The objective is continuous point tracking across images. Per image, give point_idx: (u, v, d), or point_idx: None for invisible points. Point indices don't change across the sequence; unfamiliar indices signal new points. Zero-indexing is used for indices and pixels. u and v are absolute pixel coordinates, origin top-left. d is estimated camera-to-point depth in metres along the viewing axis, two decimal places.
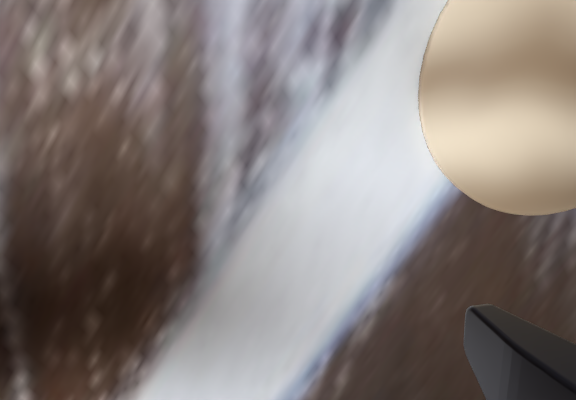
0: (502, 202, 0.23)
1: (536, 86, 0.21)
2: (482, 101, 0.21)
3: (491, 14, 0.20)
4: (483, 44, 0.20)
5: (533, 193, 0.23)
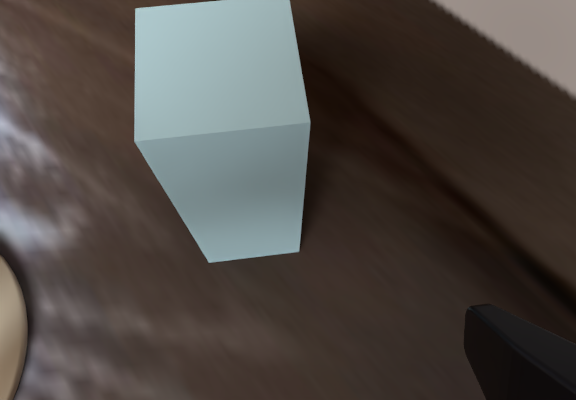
0: None
1: None
2: None
3: None
4: None
5: None
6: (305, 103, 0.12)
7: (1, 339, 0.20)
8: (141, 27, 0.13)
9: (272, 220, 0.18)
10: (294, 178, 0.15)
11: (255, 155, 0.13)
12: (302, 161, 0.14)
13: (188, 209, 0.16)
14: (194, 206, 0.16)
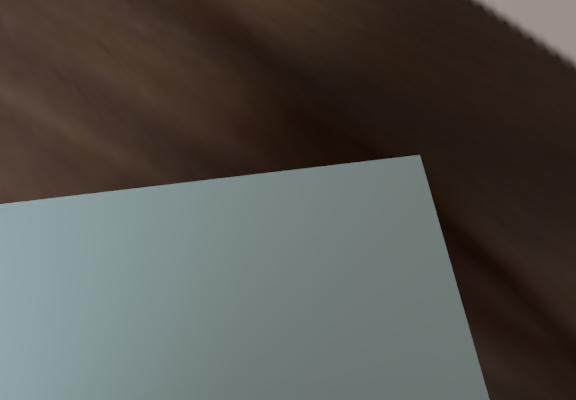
0: None
1: None
2: None
3: None
4: None
5: None
6: None
7: None
8: None
9: None
10: None
11: None
12: None
13: None
14: None
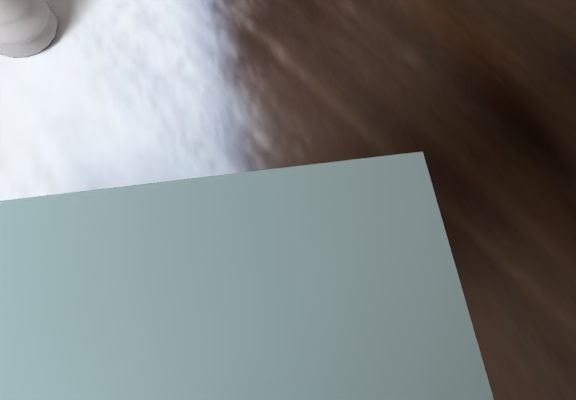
0: None
1: None
2: None
3: None
4: None
5: None
6: None
7: None
8: None
9: None
10: None
11: None
12: None
13: None
14: None
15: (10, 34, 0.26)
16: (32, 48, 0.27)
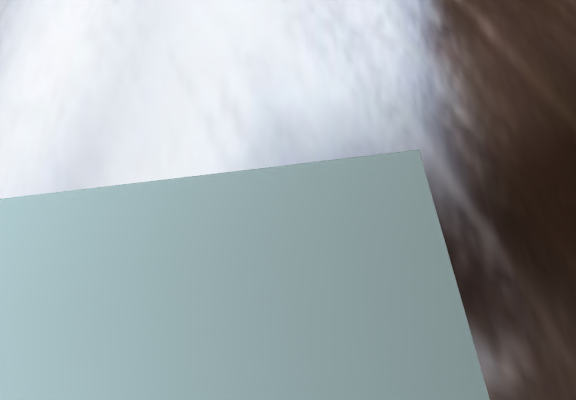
0: None
1: None
2: None
3: None
4: None
5: None
6: None
7: None
8: None
9: None
10: None
11: None
12: None
13: None
14: None
15: None
16: None
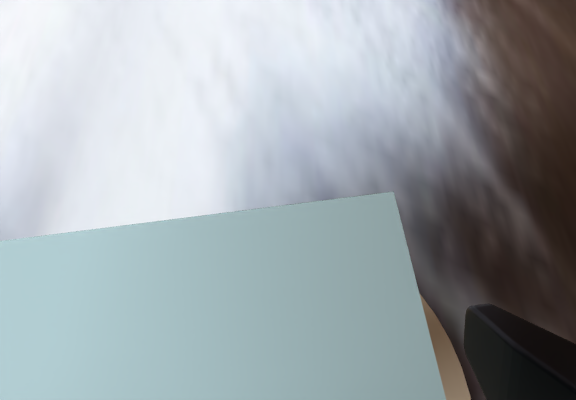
0: None
1: None
2: None
3: None
4: None
5: None
6: None
7: None
8: None
9: None
10: None
11: None
12: None
13: None
14: None
15: None
16: None
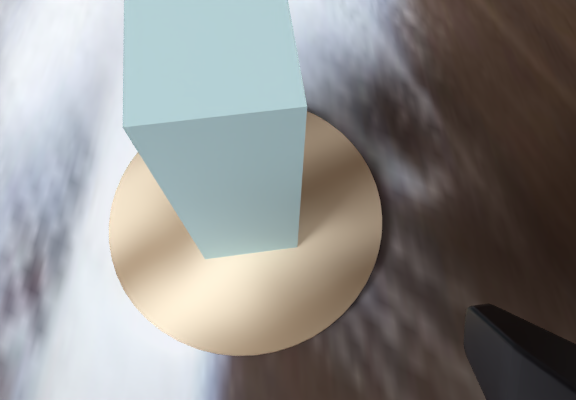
0: (270, 340, 0.21)
1: None
2: (182, 264, 0.22)
3: (148, 205, 0.23)
4: (154, 226, 0.23)
5: (295, 313, 0.21)
6: (301, 87, 0.11)
7: (359, 254, 0.22)
8: (130, 10, 0.12)
9: (269, 213, 0.18)
10: (292, 168, 0.14)
11: (250, 143, 0.13)
12: (299, 149, 0.13)
13: (182, 202, 0.16)
14: (187, 198, 0.15)
15: None
16: None
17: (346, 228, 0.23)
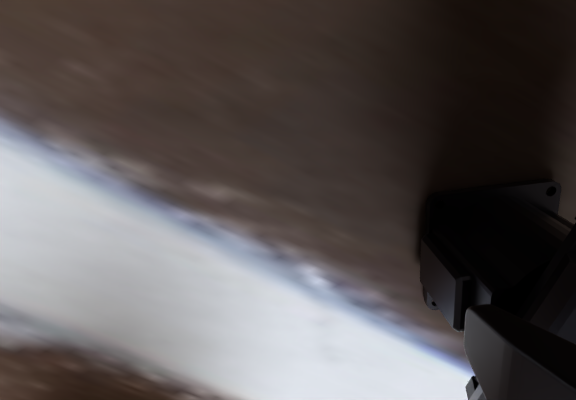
0: None
1: None
2: None
3: None
4: None
5: None
6: None
7: None
8: None
9: None
10: None
11: None
12: None
13: None
14: None
15: None
16: None
17: None
